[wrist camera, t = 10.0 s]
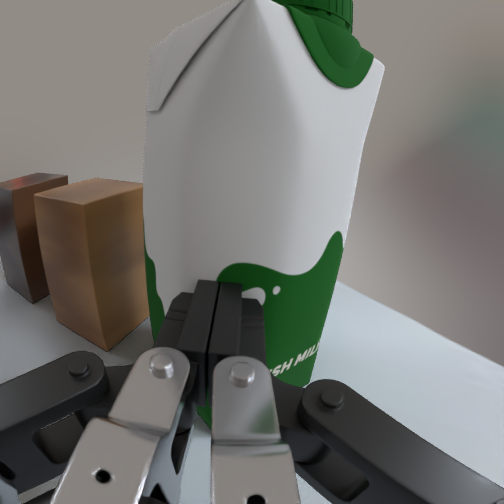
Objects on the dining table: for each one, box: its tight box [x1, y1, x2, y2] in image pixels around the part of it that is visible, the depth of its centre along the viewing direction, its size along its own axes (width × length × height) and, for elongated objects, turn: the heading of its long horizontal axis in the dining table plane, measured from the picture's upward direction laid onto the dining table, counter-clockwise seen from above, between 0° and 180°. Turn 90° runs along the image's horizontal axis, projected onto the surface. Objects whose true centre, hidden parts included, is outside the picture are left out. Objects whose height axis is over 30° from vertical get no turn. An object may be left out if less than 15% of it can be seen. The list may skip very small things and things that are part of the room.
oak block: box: [34, 178, 150, 351], centre depth 19 cm, size 6×6×10 cm
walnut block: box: [0, 173, 68, 303], centre depth 21 cm, size 6×6×10 cm
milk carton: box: [143, 0, 385, 430], centre depth 13 cm, size 9×9×20 cm
